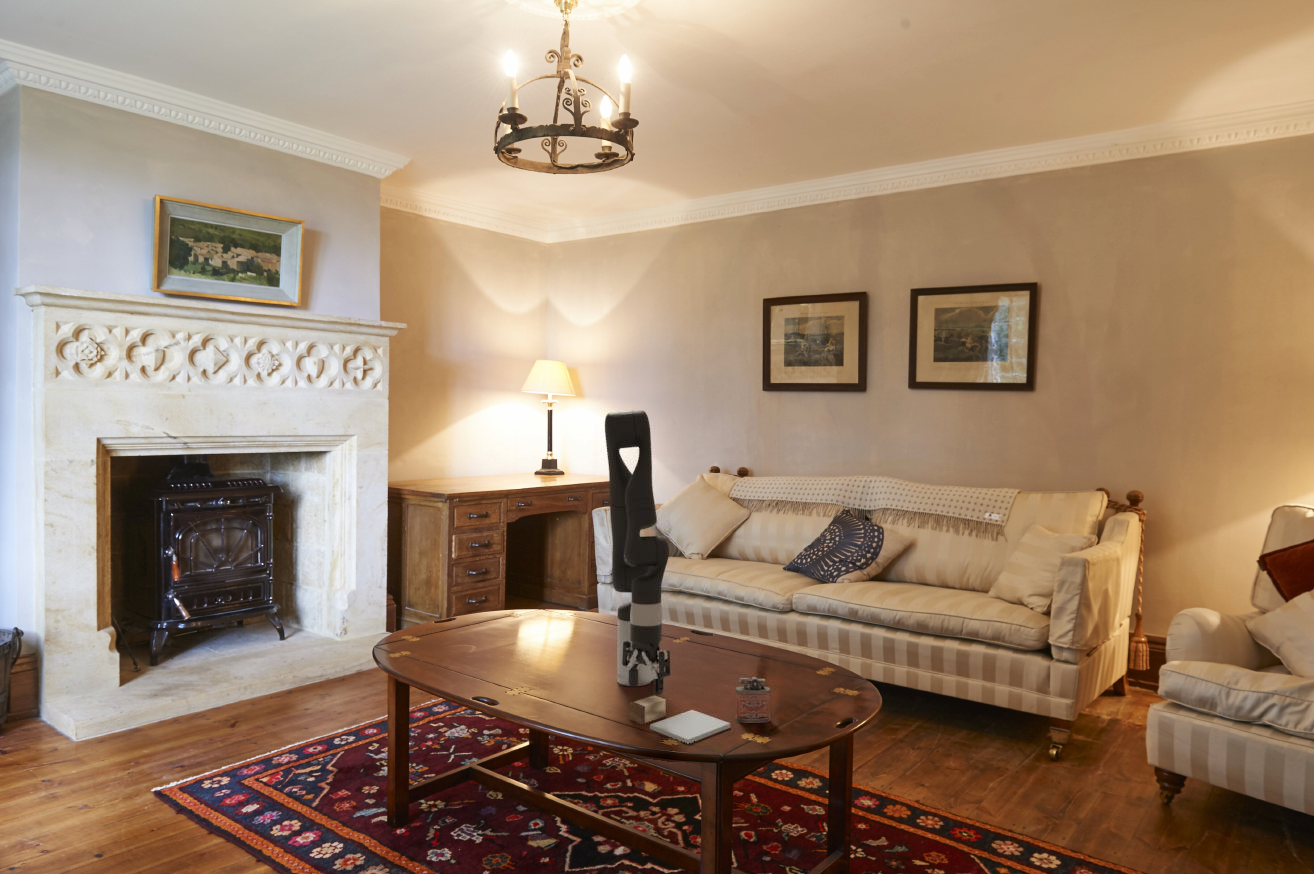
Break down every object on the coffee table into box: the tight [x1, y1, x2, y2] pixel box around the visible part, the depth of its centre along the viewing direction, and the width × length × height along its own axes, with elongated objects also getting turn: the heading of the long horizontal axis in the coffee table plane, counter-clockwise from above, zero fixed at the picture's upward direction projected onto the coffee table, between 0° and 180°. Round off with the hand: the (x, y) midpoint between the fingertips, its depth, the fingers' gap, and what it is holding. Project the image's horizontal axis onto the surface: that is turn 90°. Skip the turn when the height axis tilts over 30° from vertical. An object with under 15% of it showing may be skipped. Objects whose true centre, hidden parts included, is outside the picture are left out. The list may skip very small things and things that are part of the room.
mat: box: [649, 709, 731, 745], centre depth 188 cm, size 14×12×1 cm
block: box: [628, 694, 667, 725], centre depth 194 cm, size 8×4×4 cm, turn 134°
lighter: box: [735, 676, 771, 724], centre depth 193 cm, size 8×3×10 cm, turn 92°
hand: (645, 689), depth 193 cm, fingers open, 8 cm apart
